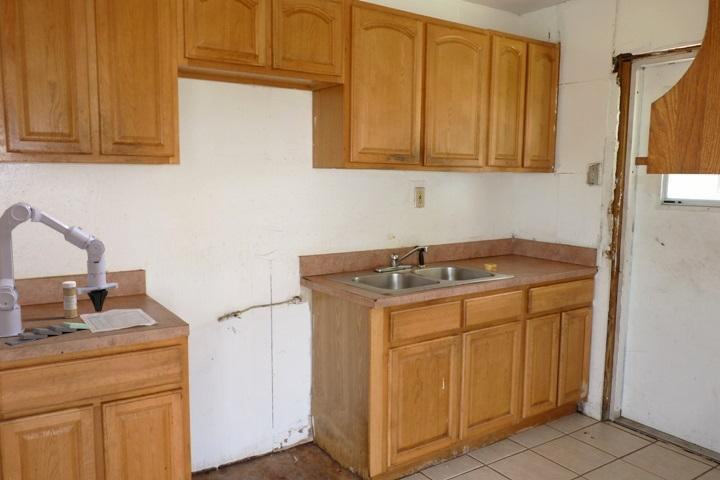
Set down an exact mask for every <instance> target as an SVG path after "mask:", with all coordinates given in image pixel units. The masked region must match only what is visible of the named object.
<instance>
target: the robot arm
mask: <svg viewBox="0 0 720 480" xmlns="http://www.w3.org/2000/svg"><path fill="white" fill-rule="evenodd" d="M28 220H30V223H41V224H43V225H45V226H47V227H49V228H51V229H53V230H54V231H56V232H59V233H60V234H62V235H63V237H64V240H65V241H66V242H68V243H70V244H71V245H73V246H75V247H76V248H79V249H80V250H85V251H86V253H87V260H86V265H87V266H86V267H87V271H86V272H87V285H85V286H81V287H76V288H75V293H76V295H83V294H87V296H88V297H89V299H90V300H91V303H92V305H93V307H94V310H95V312H97V313H100V312H102V311H103V307H104V303H105V300H106V298H107V297H108V294H109V291H108V290H112V289H119V282H116V281H115V282H107V274H106V260H105V251H106V247H105V244H104V243H103V241H102V240H101V239H99V238H96V235H94V234H92V235H91V234H90V233H88V232H86V231H85V230H83V227H82V226H76V225H74V226H72V225H71V226H68V225H67V224H65V223H63V222H61V220H59V219H58V218H56V217H53V216H52V215H50V214H49V213H48V212H46V211H44V210H42V209H40V208H38V207H35V206H33V205H32V206H31V204H28V203H27V202H22V201H21V202H17V203H14V204H12V205H10V206H9V207H7V209H5V210H4V212H3V213H2V214H1V216H0V338H8V337H18V333H25V330H26V328H23V323H22V310H21V308H22V307H21V304H19V302H18V300H19V298H20V292H19V290H18V288H17V286H16V281H15V279H16V278H15V271H14V270H15V269H14V253H13V250H14V249H13V236H12V232H13V230H14V229H15V228H17V227H18V226H19V225H21V224H24V223H25V222H27V221H28Z"/></svg>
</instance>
